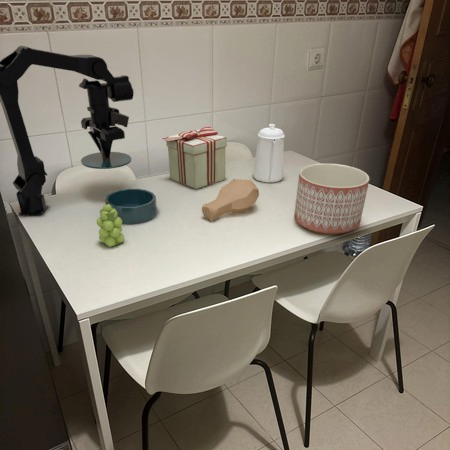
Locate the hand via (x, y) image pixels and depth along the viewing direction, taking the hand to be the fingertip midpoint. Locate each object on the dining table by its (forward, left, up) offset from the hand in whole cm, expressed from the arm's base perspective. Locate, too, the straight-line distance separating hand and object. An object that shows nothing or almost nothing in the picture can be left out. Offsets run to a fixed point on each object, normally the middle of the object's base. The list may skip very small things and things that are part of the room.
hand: (105, 156), depth 141 cm
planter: (+67, -22, -12) cm, 72 cm away
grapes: (+6, -34, -12) cm, 37 cm away
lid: (0, 0, -1) cm, 1 cm away
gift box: (+27, +14, -12) cm, 33 cm away
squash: (+39, -14, -12) cm, 44 cm away
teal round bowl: (+9, -16, -12) cm, 22 cm away
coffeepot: (+54, +15, -12) cm, 57 cm away
